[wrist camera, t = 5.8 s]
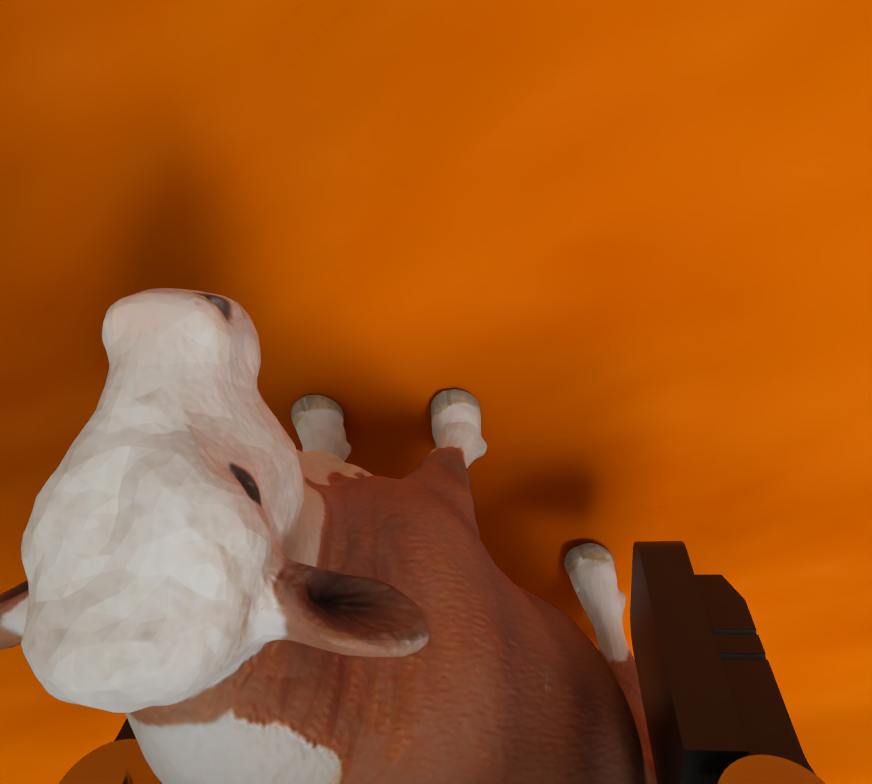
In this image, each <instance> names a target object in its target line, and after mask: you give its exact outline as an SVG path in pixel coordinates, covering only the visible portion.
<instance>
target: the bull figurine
mask: <svg viewBox="0 0 872 784" xmlns="http://www.w3.org/2000/svg"><path fill="white" fill-rule="evenodd" d="M102 341H103V344H104V346H105V349H106V352H107V355H108V360H109V371H108V375H107V380H106V384H105V387H104V389H103V392H102V394H101V397H100V400H99V402H98V405H97V408H96V410H95V412H94V413H93V415H92V416H91V418H90V419H89V421H88V422H87V423H86V425H85V426H84V428H83V429H82V430H81V432H80V433H79V435H78V436H77V437H76V439H75V440H74V441H73V443H72V445H71V446H70V448H69V450H68V451H67V453H66V455H65V456H64V458H63V460H62V461H61V463H60V465H59V466H58V468H57V469H56V470H55V471H54V473H53V474H52V475H51V476H50V478H49V479H48V480H47V482H46V483H45V485H44V486H43V488H42V489H41V491H40V492H39V493H38V495H37V496H36V499H35V503H34V506H33V509H32V513H31V516H30V519H29V522H28V524H27V527H26V529H25V531H24V533H23V538H22V544H21V556H22V562H23V566H24V569H25V573H26V577H27V581H25V582H23V583H21V584H20V585H18V586H16V587H14V588H12V589H10V590H8V591H6V592H4V593H2V594H1V595H0V649H5V648H10V647H14V646H17V645H19V644H21V646H22V649H23V653H24V655H25V657H26V659H27V661H28V663H29V665H30V667H31V669H32V671H33V673H34V675H35V676H36V677H37V679H38V680H39V681H40V683H41V684H42V685H43V687H44V688H45V689H46V691H47V692H48V693H49V694H51V695H52V696H54V697H55V698H57V699H58V700H61V701H64V702H68V703H73V704H79V705H83V706H88V707H92V708H96V709H101V710H105V711H109V712H113V713H125V714H126V716H127V719H128V721H129V723H130V726H131V728H132V730H133V732H134V735H135V737H136V739H137V742H138V744H139V746H140V748H141V751H142V753H143V755H144V757H145V759H146V761H147V763H148V764H149V766H150V767H151V769H152V771H153V772H154V774H155V775H156V776H157V778H158V779H159V780H160V781H161V783H162V784H657V779H656V773H655V768H654V762H653V757H652V751H651V746H650V740H649V735H648V729H647V724H646V718H645V713H644V707H643V702H642V696H641V691H640V685H639V680H638V674H637V669H636V663H635V660H634V658H633V656H632V654H631V652H630V650H629V647H628V645H627V642H626V639H625V636H624V630H623V625H622V618H623V610H624V607H625V602H626V598H625V595H624V593H623V592H622V591H620V590H618V588H617V576H616V572H615V567H614V559H613V556H612V554H611V553H610V552H609V551H608V550H607V549H606V548H604V547H602V546H600V545H598V544H594V543H586V544H581V545H579V546H576V547H574V548H572V549H570V550H569V552H568V553H567V554H566V556H565V561H564V566H565V569H566V572H567V573H568V575H569V577H570V580H571V583H572V585H573V588H574V590H575V592H576V594H577V596H578V598H579V600H580V603H581V605H582V607H583V609H584V611H585V613H586V614H587V616H588V618H589V619H590V621H591V623H592V626H593V628H594V630H595V634H596V637H597V641H598V647H599V651H598V649H597V648H596V647H595V645H594V644H593V643H592V642H591V641H590V639H589V638H588V637H587V636H586V635H585V634H584V632H583V631H582V630H581V629H580V628H579V627H578V626H577V625H576V624H575V623H574V622H573V621H572V620H571V619H570V618H569V617H567V616H566V615H565V614H564V613H562V612H561V611H560V610H558V609H557V608H556V607H555V606H553V605H551V604H550V603H548V602H546V601H545V600H543V599H541V598H540V597H538V596H536V595H534V594H532V593H530V592H528V591H526V590H524V589H522V588H520V587H518V586H516V585H515V584H514V583H513V582H512V581H511V580H510V579H509V578H508V577H507V576H506V575H505V574H504V573H503V572H502V571H501V570H500V569H499V568H498V567H497V566H496V565H495V563H494V561H493V560H492V558H491V556H490V555H489V553H488V551H487V550H486V548H485V546H484V545H483V543H482V542H481V540H480V532H479V529H478V525H477V522H476V518H475V511H474V501H473V498H472V494H471V492H470V479H469V474H468V470H467V468H468V466H469V465H470V464H471V463H472V462H473V461H474V460H475V459H476V458H479V457H482V456H483V455H484V454H485V452H486V450H487V444H486V442H485V441H484V440H483V438H482V437H481V410H480V406H479V403H478V401H477V400H476V398H475V397H474V396H472V395H471V394H470V393H468V392H466V391H463V390H459V389H451V390H445V391H442V392H440V393H439V394H438V395H436V396H435V398H434V399H433V401H432V404H431V418H432V435H433V438H434V441H435V443H436V448H435V449H433V450H432V451H431V452H430V453H429V454H428V455H427V456H426V457H425V458H424V459H423V461H422V463H421V465H420V467H419V468H418V469H416V470H414V471H413V472H411V473H410V474H408V475H407V476H405V477H404V478H402V479H395V478H389V477H384V476H374V475H372V474H371V473H369V472H367V471H366V470H364V469H362V468H360V467H358V466H356V465H354V464H349V463H345V462H344V461H345V460H346V459H347V457H348V456H349V454H350V452H351V446H350V444H349V443H348V442H347V441H346V434H345V429H344V426H343V422H344V414H343V410H342V408H341V407H340V406H339V404H337V403H336V402H334V401H333V400H331V399H330V398H328V397H325V396H322V395H306V396H304V397H302V398H300V399H299V400H298V401H296V402H295V403H294V405H293V407H292V409H291V418H292V422H293V425H294V427H295V429H296V431H297V434H298V436H299V439H300V441H301V444H302V451H303V452H301V451H299V450H297V449H296V447H295V444H294V443H293V441H292V440H291V438H290V437H289V436H288V434H287V433H286V431H285V430H284V428H283V427H282V425H281V424H280V423H279V421H278V420H277V418H276V417H275V415H274V414H273V413H272V411H271V410H270V409H269V407H268V406H267V404H266V403H265V402H264V400H263V399H262V397H261V395H260V393H259V391H258V387H257V377H258V373H259V369H260V365H261V355H260V343H259V338H258V333H257V331H256V328H255V326H254V324H253V322H252V319H251V317H250V316H249V314H248V313H247V312H246V311H245V310H244V308H243V307H242V306H241V305H240V304H239V303H237V302H236V301H234V300H232V299H230V298H228V297H226V296H223V295H218V294H213V293H208V292H203V291H197V290H188V289H176V288H157V289H148V290H144V291H141V292H138V293H136V294H133V295H130V296H127V297H124V298H121V299H119V300H118V301H116V302H115V303H114V304H112V305H111V306H110V308H109V309H108V310H107V313H106V316H105V319H104V322H103V327H102Z"/></svg>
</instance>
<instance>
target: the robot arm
mask: <svg viewBox="0 0 872 784" xmlns="http://www.w3.org/2000/svg"><path fill="white" fill-rule="evenodd" d="M630 623H631V637H632V646H633V652H634V658H635V663H636V669H637V674H638V680H639V685H640V691H641V696H642V702H643V707H644V713H645V718H646V724H647V729H648V735H649V740H650V746H651V751H652V757H653V762H654V768H655V773H656V779H657V784H825V783H824V782H823V781H822V780H821V779H820V778H819V777H818V776H816V774H815V773H814V772H813V770H812V769H811V767H810V765H809V764H808V762H807V760H806V758H805V756H804V754H803V751H802V749H801V746H800V743H799V741H798V738H797V736H796V733H795V730H794V728H793V725H792V722H791V720H790V717H789V714H788V712H787V709H786V707H785V704H784V701H783V699H782V696H781V693H780V691H779V688H778V686H777V683H776V680H775V678H774V675H773V672H772V670H771V667H770V665H769V662H768V660H766V657H765V651H764V649H763V646H762V643H761V641H760V638H759V636H758V635H757V634H756V628H755V625H754V622H753V620H752V617H751V615H750V612H749V609H748V607H747V604H746V601H745V599H744V598H743V597H742V596H741V595H740V594H739V593H738V592H737V591H736V590H735V589H734V588H733V587H732V586H731V585H730V584H729V582H728V581H727V580H726V579H725V578H724V577H723V576H722V575H694V572H693V569H692V566H691V562H690V559H689V556H688V553H687V550H686V547H685V545H684V543H683V542H682V541H657V542H635V543H634V546H633V562H632V583H631V605H630ZM59 784H162V783H161V781H160V780H159V779H158V778H157V776H156V775H155V774H154V772H153V771H152V769H151V767H150V766H149V764H148V763H147V761H146V759H145V757H144V755H143V753H142V751H141V748H140V746H139V744H138V742H137V739H136V737H135V735H134V732H133V730H132V728H131V726H130V723H129V721H128V719H126V721H125V723H124V725H123V727H122V728H121V730H120V732H119V734H118V736H117V737H116V739H115V741H114V742H110V743H108V744H105V745H103V746H101V747H99V748H97V749H95V750H93V751H92V752H90V753H89V754H87V755H86V756H84V757H83V758H82V759H81V760H79V761H78V762H77V763H76V764H75V765H74V766H73V767H72V768H71V769H70V770H69V771H68V772H67V773H66V775H65V776H64V777H63V779H62V780H61V781H60V783H59Z"/></svg>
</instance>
